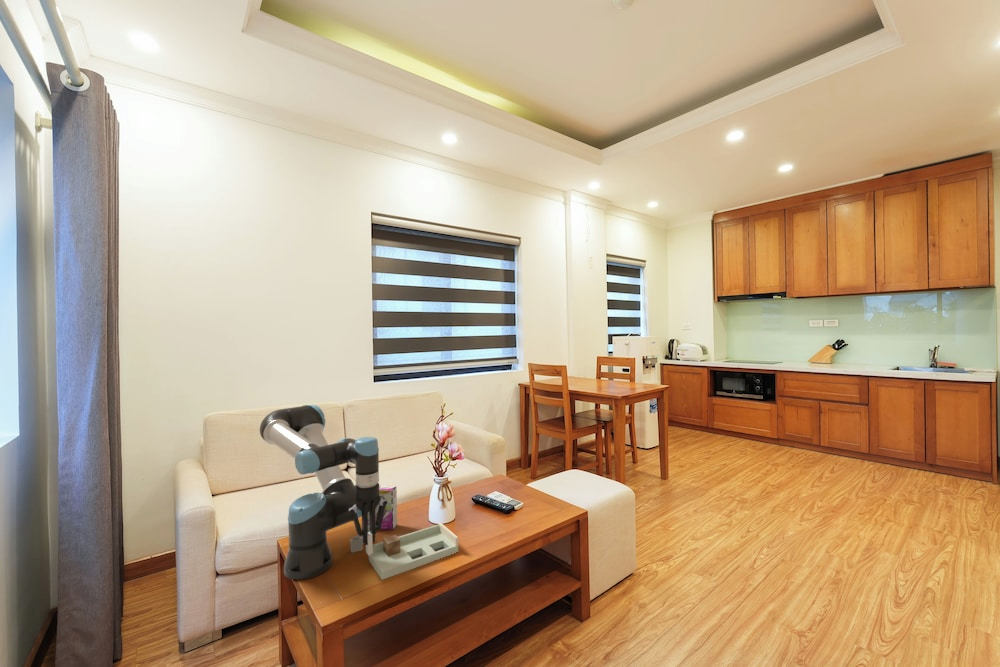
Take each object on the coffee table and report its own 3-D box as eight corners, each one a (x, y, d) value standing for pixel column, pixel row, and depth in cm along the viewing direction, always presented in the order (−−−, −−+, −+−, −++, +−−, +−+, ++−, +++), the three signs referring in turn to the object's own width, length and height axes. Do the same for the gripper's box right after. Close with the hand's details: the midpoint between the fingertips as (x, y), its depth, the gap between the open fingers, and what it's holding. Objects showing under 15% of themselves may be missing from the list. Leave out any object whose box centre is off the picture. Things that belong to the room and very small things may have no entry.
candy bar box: (366, 529, 170) (365, 489, 169) (371, 523, 175) (370, 484, 174) (393, 530, 169) (392, 490, 168) (397, 524, 174) (396, 485, 173)
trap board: (382, 579, 136) (381, 563, 136) (368, 560, 148) (368, 544, 147) (458, 552, 152) (458, 537, 152) (440, 536, 163) (440, 522, 163)
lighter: (351, 552, 153) (350, 530, 152) (350, 550, 154) (350, 528, 154) (371, 547, 156) (371, 526, 156) (370, 545, 157) (370, 524, 157)
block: (387, 556, 145) (387, 543, 145) (383, 551, 149) (383, 538, 149) (400, 552, 148) (400, 539, 147) (395, 547, 151) (395, 534, 151)
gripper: (351, 492, 136) (352, 564, 137) (390, 483, 144) (391, 551, 144) (344, 485, 142) (346, 554, 143) (382, 476, 150) (384, 542, 150)
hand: (369, 552), depth 143 cm, fingers closed
